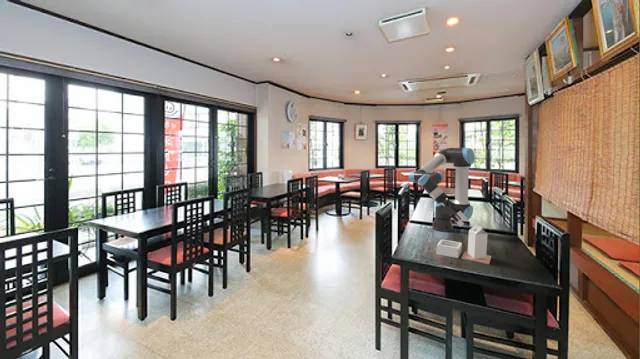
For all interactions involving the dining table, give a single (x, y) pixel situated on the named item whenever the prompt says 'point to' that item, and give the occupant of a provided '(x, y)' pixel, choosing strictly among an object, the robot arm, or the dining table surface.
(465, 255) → the terracotta tile
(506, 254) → the dining table surface
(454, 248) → the white open box
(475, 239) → the milk carton
